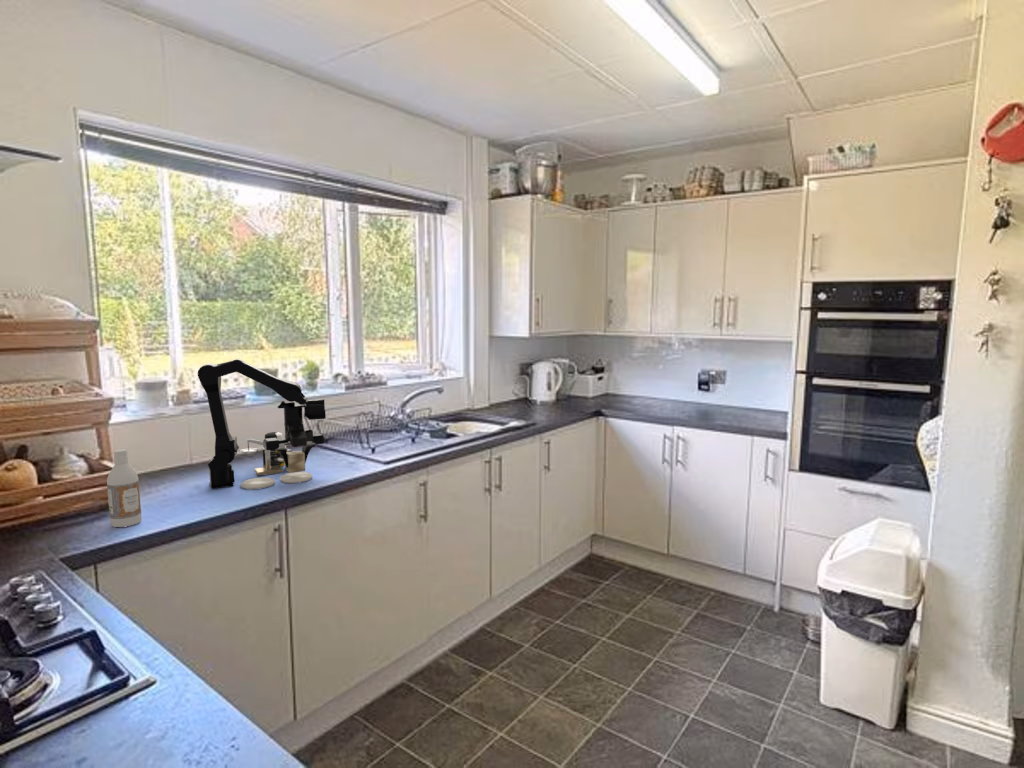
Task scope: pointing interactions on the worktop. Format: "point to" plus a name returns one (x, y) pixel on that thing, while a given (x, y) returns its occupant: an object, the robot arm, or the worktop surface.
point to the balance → (268, 468)
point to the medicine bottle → (273, 453)
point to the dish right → (296, 477)
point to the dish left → (257, 483)
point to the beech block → (296, 461)
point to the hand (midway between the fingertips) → (295, 466)
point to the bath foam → (123, 492)
